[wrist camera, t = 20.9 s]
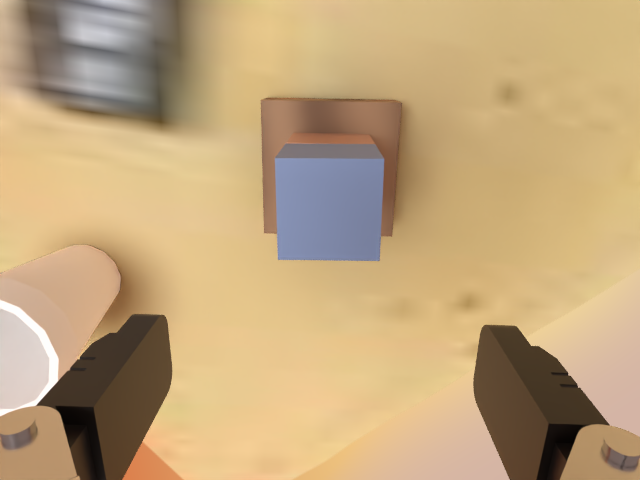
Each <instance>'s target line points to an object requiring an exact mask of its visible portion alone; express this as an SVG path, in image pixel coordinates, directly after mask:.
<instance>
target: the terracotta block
mask: <svg viewBox="0 0 640 480" xmlns="http://www.w3.org/2000/svg"><path fill="white" fill-rule="evenodd" d="M286 144H375V143H374V141H373V140H372V138H371V136H370V135H369V134H336V133H293V134H292V135H291V137H290V138H289V139H288V141H287V142H286ZM375 145H376V144H375Z"/></svg>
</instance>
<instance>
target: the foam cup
mask: <svg viewBox="0 0 640 480" xmlns="http://www.w3.org/2000/svg"><path fill="white" fill-rule="evenodd" d="M120 283H121V276H120V273H119V271H118V268H117V266H116V263H115V262H114V261H113V260H112V259H111V258H110V257H109V256H108V255H107V254H106V253H105V252H104V251H101V250H99V249H97V248H94V247H92V246H90V245H72V246H69V247H66V248H63V249H61V250H58V251H56V252H53V253H51V254H48V255H45V256H43V257H40V258H38V259H35V260H33V261H30V262H27V263H25V264H22V265H20V266H17V267H14V268H12V269H9V270H7V271H4V272H2V273H0V416H2V415H4V414H6V413H9V412H11V411H14V410H17V409H21V408H25V407H31V406H36V405H37V404H38V403H39V401H40V400H41V399H42V398H43V397H44V396H45V395H46V394H47V393H48V392H49V390H50V389H51V388H52V387H53V386H54V385H55V384H56V383H57V382H58V381H59V379H60V378H61V377H62V376H63V375H64V374H65V373H66V372H67V371H70V367H71V366H72V365H73V364H74V363H75V362H76V359H77V357H78V356H79V354H80V352H81V351H82V349H83V348H84V346H85V345H86V343H87V341H88V340H89V338H90V337H91V335H92V334H93V332H94V331H95V329H96V327H97V326H98V324H99V323H100V321H101V320H102V318H103V316H104V315H105V313H106V312H107V310H108V309H109V307H110V306H111V304H112V302H113V301H114V299H115V298H116V296H117V295H118V292H119V291H120Z"/></svg>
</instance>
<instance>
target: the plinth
mask: <svg viewBox="0 0 640 480" xmlns="http://www.w3.org/2000/svg"><path fill="white" fill-rule="evenodd" d="M401 106H402V103H401V102H398V101H396V100H362V99H309V98H266V99H263V100H261V124H262V166H263V208H264V233H277V212H276V179H275V157H276V156H277V155H278V153H279V152H280V150H281V149H282V148H283V146H284V145H285V144H286V142H287V141H288V139H289V138H290V137H291V135H292V134H293V133H336V134H369V135H370V136H371V138H372V140H373V141H374V143H375V144H376V146H377V148H378V149H379V151H380V153H381V154H382V156H383V157H384V177H383V198H382V219H381V236H392V230H393V216H394V202H395V188H396V175H397V161H398V147H399V133H400V119H401Z"/></svg>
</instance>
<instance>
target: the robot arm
mask: <svg viewBox="0 0 640 480" xmlns="http://www.w3.org/2000/svg"><path fill="white" fill-rule="evenodd" d="M171 379H172V361H171V352H170V342H169V332H168V323H167V319H166V317H165V316H164V315H150V314H133V315H132V316H131V317H130V318H129V319H128V320H127V322H126V323H125V324H124V325H123V326H122V327H121V329H120V330H119V331H118V332H117V333H109V334H107V335H106V336H104V337H102V338H101V339H99V340H97V341H96V342H94V343H92V344H91V345H90V346H89V348H88V349H87V350H86V351H85V352H84V353H83V354H82V355H81V356H80V360H77V361H76V362H75V363H74V364H73V365H72V366H71V367H70V371H67V372H66V373H65V374H64V375H63V376H62V377H61V378H60V379H59V381H58V382H57V383H56V384H55V385H54V386H53V387H52V388H51V389H50V390H49V392H48V393H47V394H46V395H45V396H44V397H43V398H42V399H41V400H40V401H39V403H38V404H37V405H36V406H31V407H25V408H21V409H17V410H14V411H11V412H9V413H6V414H4V415H2V416H0V480H122V479H123V477H124V475H125V473H126V471H127V469H128V468H129V466H130V464H131V462H132V460H133V458H134V456H135V454H136V452H137V450H138V448H139V447H140V445H141V443H142V441H143V439H144V437H145V435H146V433H147V432H148V430H149V428H150V426H151V424H152V422H153V420H154V418H155V416H156V414H157V413H158V411H159V409H160V407H161V405H162V403H163V401H164V399H165V397H166V395H167V393H168V391H169V388H170V385H171ZM474 395H475V400H476V403H477V405H478V408H479V410H480V412H481V415H482V417H483V419H484V421H485V424H486V426H487V429H488V431H489V433H490V435H491V438H492V440H493V442H494V444H495V447H496V449H497V451H498V453H499V456H500V458H501V460H502V463H503V465H504V467H505V470H506V472H507V474H508V476H509V479H510V480H640V437H639V436H637V435H635V434H633V433H631V432H629V431H626V430H623V429H621V428H618V427H613V426H610V425H609V424H608V422H607V421H606V420H605V419H604V418H603V416H602V415H601V414H600V412H599V411H598V410H597V409H596V407H595V406H594V405H593V404H592V402H591V401H590V400H589V399H588V397H587V396H586V395H585V394H584V393H583V391H582V390H581V388H578V386H577V383H576V382H575V381H574V380H573V378H572V377H571V376H568V372H567V371H566V370H565V368H564V367H563V366H562V365H561V363H560V362H559V361H558V359H557V358H555V357H553V356H552V355H551V354H549V353H548V352H546V351H545V350H543V349H542V348H540V347H539V346H531V345H530V344H529V342H528V341H527V340H526V338H525V337H524V336H523V334H522V333H521V331H520V330H519V329H518V328H517V327H516V326H505V325H484V326H483V327H482V330H481V333H480V339H479V346H478V353H477V359H476V366H475V373H474Z"/></svg>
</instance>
